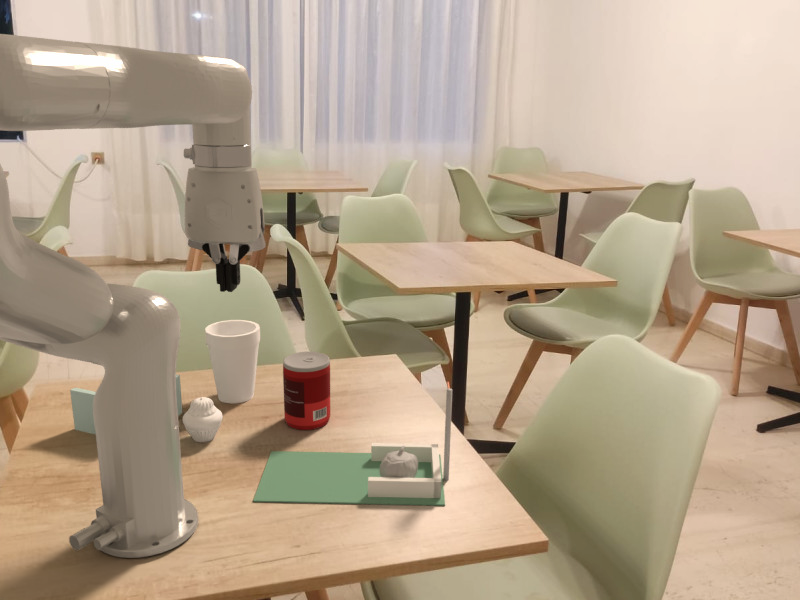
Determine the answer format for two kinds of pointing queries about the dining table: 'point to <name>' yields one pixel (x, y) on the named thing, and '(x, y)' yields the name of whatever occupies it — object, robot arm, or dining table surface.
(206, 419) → the muffin
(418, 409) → the dining table surface
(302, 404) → the canned food
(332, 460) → the felt mat
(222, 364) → the foam cup
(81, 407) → the right angle wall
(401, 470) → the garlic
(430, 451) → the white u-shaped frame
